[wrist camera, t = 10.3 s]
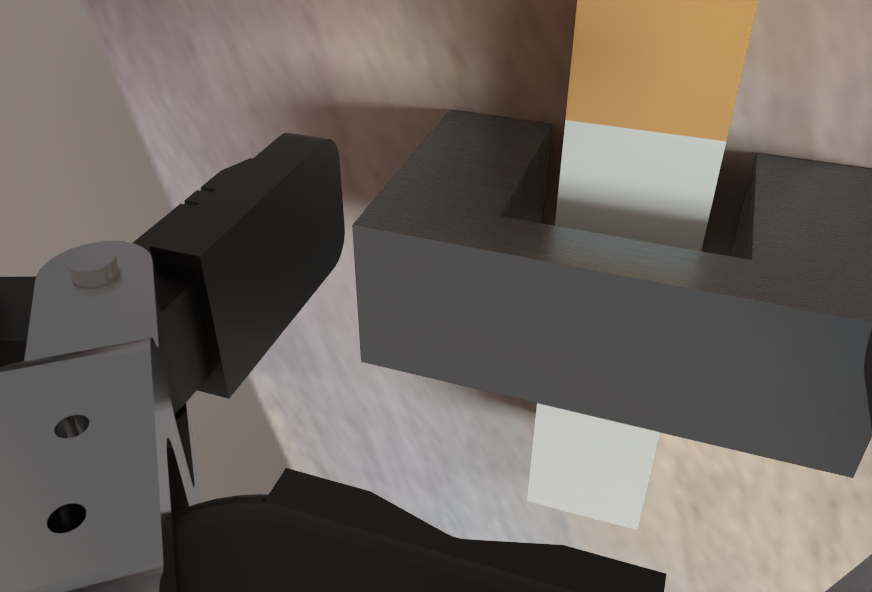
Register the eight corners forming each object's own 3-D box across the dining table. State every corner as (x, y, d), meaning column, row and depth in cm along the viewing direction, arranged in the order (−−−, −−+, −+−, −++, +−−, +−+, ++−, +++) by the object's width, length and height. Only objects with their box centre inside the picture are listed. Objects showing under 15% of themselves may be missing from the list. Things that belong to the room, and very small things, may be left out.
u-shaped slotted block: (881, 170, 20) (919, 331, 15) (834, 298, 22) (852, 477, 17) (450, 109, 23) (352, 225, 18) (448, 228, 26) (361, 361, 20)
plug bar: (762, -48, 18) (759, -4, 15) (652, 441, 28) (637, 530, 25) (610, -59, 19) (579, -19, 16) (553, 418, 29) (527, 500, 26)
